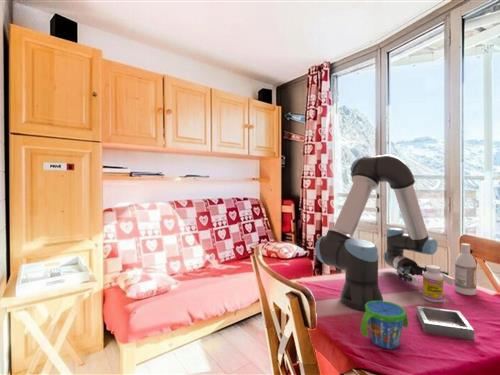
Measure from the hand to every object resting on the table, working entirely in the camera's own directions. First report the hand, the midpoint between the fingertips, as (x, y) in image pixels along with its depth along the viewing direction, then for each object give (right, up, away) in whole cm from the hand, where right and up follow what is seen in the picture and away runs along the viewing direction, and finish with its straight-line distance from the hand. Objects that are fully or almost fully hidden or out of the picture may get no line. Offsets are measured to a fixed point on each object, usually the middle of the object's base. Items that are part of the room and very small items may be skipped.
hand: (435, 282), depth 108 cm
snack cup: (-33, -8, -27) cm, 43 cm away
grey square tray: (-10, -8, -19) cm, 23 cm away
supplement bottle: (0, -7, +1) cm, 7 cm away
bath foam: (+17, -7, +7) cm, 20 cm away
